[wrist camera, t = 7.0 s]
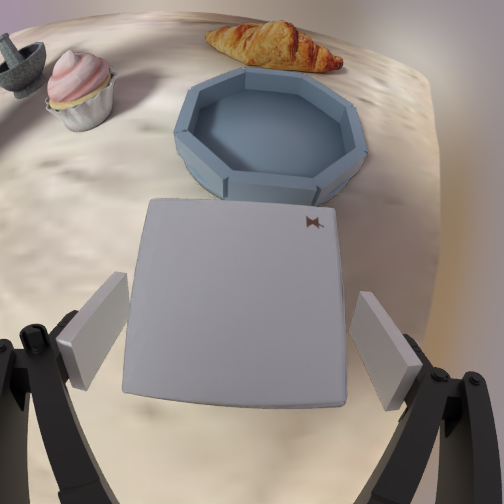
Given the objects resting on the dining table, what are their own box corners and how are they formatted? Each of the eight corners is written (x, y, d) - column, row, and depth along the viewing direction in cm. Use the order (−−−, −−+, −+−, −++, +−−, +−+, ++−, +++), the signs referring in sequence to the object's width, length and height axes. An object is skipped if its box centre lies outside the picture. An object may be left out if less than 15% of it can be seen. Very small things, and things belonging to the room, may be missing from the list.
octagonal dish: (163, 205, 25) (156, 180, 22) (197, 87, 33) (196, 64, 30) (365, 222, 26) (381, 201, 23) (341, 102, 34) (348, 81, 30)
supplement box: (188, 290, 22) (148, 189, 11) (286, 296, 23) (342, 202, 11) (179, 388, 19) (113, 394, 8) (284, 394, 20) (354, 406, 8)
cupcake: (139, 107, 31) (124, 37, 22) (74, 153, 27) (41, 84, 18) (104, 86, 33) (88, 27, 24) (48, 124, 30) (21, 66, 21)
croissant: (198, 70, 40) (182, 42, 32) (221, 26, 40) (210, -3, 32) (332, 101, 38) (340, 73, 30) (346, 53, 38) (354, 22, 30)
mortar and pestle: (62, 74, 35) (44, 17, 24) (19, 109, 31) (-8, 52, 20) (36, 68, 37) (19, 21, 26) (-1, 99, 33) (-23, 52, 22)
